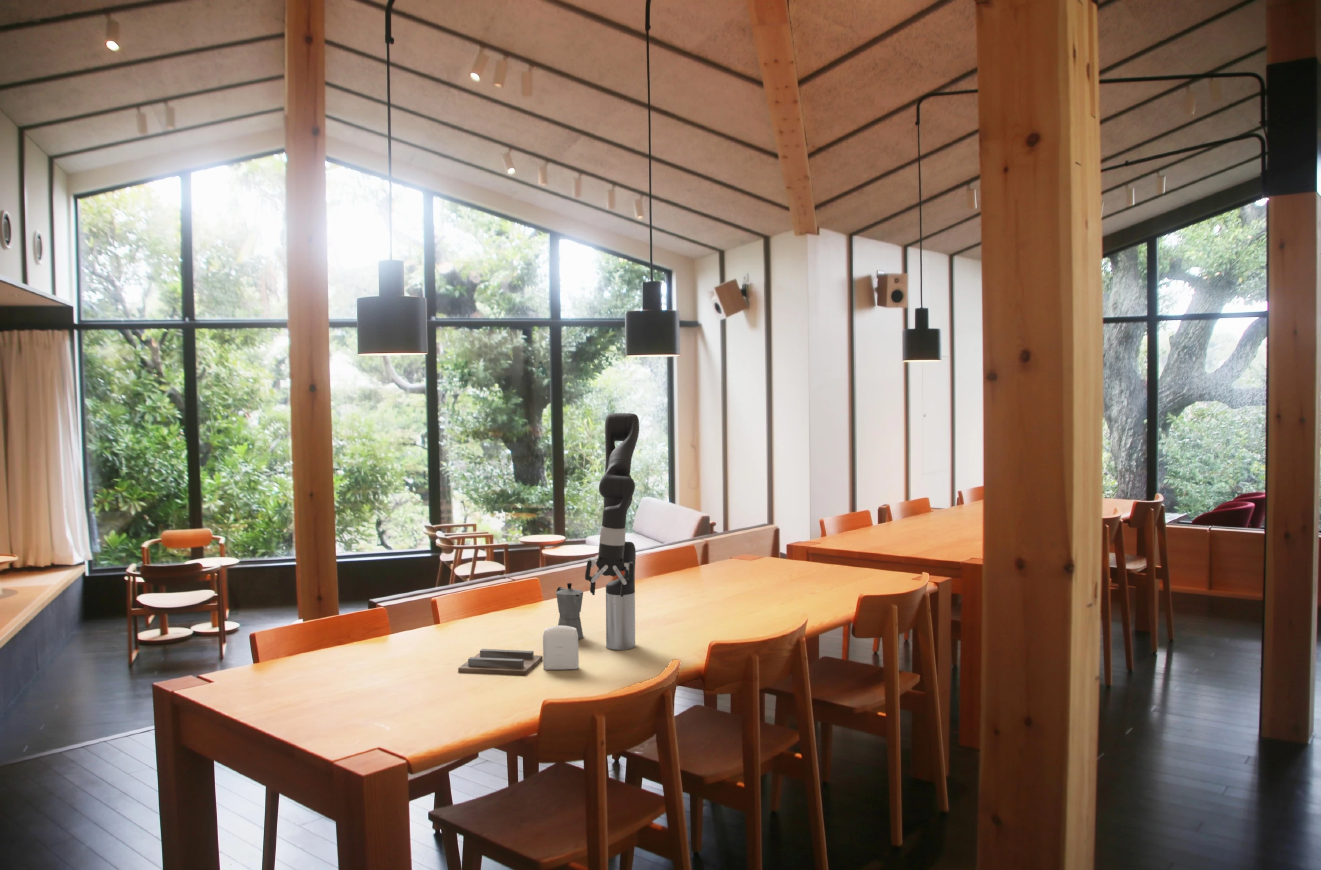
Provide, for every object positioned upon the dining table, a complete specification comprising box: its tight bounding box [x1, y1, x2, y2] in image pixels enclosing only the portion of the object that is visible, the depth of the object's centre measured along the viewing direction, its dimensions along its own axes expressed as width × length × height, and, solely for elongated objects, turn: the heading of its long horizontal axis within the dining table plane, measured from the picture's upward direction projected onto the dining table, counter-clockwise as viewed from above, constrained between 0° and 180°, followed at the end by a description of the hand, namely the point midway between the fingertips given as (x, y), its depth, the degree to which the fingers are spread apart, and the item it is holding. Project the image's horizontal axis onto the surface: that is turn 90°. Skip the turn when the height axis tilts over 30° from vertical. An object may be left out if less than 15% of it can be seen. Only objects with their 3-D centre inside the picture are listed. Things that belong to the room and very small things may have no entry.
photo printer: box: [542, 625, 580, 671], centre depth 250 cm, size 10×4×12 cm, turn 90°
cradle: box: [457, 648, 543, 676], centre depth 253 cm, size 16×20×3 cm
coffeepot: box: [555, 582, 584, 640], centre depth 286 cm, size 15×9×18 cm, turn 33°
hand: (607, 595), depth 259 cm, fingers open, 8 cm apart
